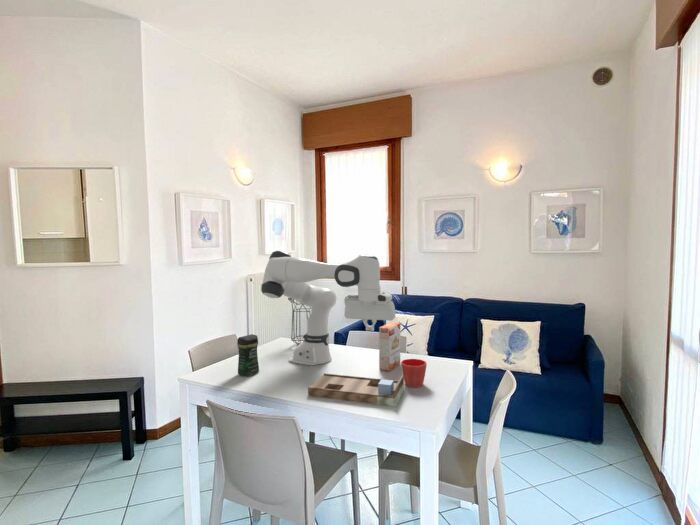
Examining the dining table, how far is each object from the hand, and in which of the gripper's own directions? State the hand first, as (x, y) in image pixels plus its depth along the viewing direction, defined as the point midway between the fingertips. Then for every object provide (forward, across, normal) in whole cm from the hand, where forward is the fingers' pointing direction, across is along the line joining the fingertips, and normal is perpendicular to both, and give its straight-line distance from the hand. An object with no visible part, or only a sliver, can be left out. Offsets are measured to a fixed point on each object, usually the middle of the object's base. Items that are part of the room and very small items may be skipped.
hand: (369, 330), depth 152 cm
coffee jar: (+27, -64, +11) cm, 70 cm away
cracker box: (+27, -1, +39) cm, 48 cm away
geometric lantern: (+27, -60, +64) cm, 92 cm away
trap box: (+27, -7, +3) cm, 28 cm away
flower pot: (+27, +14, +19) cm, 36 cm away
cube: (+24, +6, 0) cm, 25 cm away
